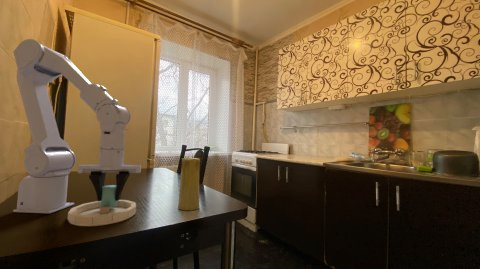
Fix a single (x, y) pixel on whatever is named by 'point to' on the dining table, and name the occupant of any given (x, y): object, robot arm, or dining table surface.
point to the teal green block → (108, 196)
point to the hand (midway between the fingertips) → (109, 200)
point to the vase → (189, 184)
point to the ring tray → (101, 213)
